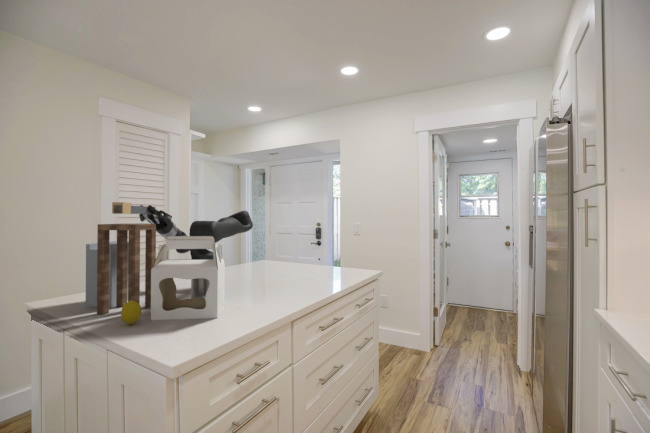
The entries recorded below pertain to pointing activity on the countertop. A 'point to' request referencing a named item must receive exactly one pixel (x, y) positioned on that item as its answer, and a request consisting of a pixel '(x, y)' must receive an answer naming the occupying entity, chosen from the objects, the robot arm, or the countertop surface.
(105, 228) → the walnut stand
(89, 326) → the countertop surface
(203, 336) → the countertop surface
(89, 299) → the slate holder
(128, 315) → the lemon
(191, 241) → the gable box
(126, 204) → the bar
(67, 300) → the countertop surface
